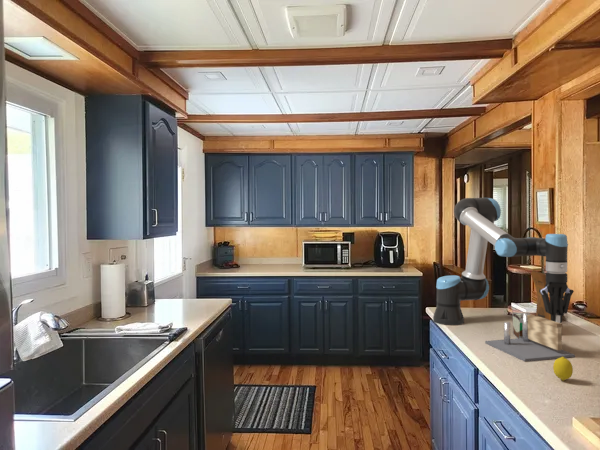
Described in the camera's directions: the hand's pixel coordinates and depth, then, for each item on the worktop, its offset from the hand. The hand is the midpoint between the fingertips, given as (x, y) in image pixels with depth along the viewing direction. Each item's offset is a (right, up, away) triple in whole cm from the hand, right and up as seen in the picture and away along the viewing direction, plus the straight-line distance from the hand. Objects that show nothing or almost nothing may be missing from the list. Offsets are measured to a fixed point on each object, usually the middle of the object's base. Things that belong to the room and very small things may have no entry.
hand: (556, 330), depth 173 cm
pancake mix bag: (+12, -8, +31) cm, 34 cm away
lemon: (-16, -9, -30) cm, 35 cm away
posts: (-11, -8, +10) cm, 17 cm away
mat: (-10, -8, +3) cm, 13 cm away
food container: (-3, -8, +21) cm, 22 cm away
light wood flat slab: (-4, -6, +2) cm, 7 cm away
